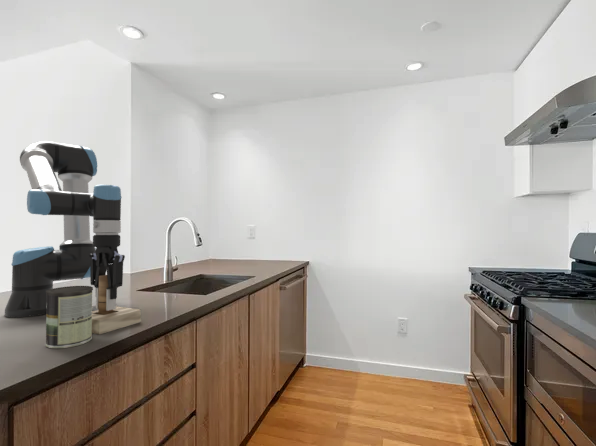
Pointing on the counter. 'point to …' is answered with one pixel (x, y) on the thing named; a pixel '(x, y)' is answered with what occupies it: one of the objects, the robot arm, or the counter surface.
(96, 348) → the counter surface
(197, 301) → the counter surface
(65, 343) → the coffee can
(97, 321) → the maple block
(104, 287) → the oak peg
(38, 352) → the counter surface
